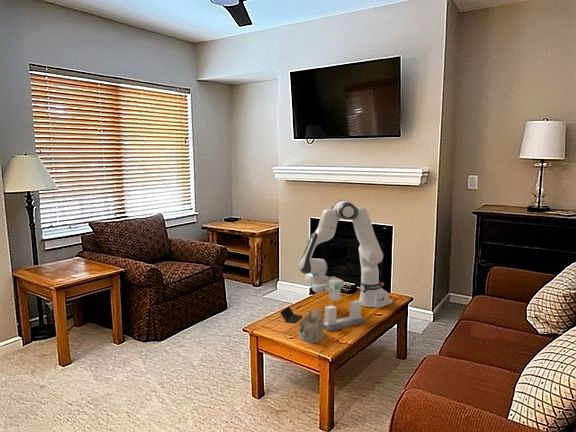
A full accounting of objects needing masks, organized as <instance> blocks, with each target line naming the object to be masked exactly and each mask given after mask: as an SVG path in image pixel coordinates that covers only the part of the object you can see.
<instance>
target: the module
mask: <svg viewBox="0 0 576 432" xmlns="http://www.w3.org/2000/svg"><path fill="white" fill-rule="evenodd" d="M329 288H332V291H331V292H329V291H328V298H329V299H330V300H332V301H333V302H336V301H340V300H341V289H340V281H338V280H336V279H332V280H329Z"/></svg>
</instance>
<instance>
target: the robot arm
mask: <svg viewBox="0 0 576 432" xmlns="http://www.w3.org/2000/svg"><path fill="white" fill-rule="evenodd" d="M341 219H342V220H351V221H352V224H353V229H354V232H355V236H356V238H357V240H358V243H359V246H358V253H359V262H360V273H361V275H360V284H359V285H360V293H359V294H360V295H359V299H358V301H360V302H361V307H362V306H363V307H367V308H368V307H369V308H377V309H379V308H382V307H385V306H388V305H391V304H393V300H392V299H391V298H390V295H389V293H388V291H386V290H385V289H383V288H382V287H383V286H385V283H384V282H380V280H379V277H380V271H379V266H378V264H380V263H381V262H382V261H383V259H384V253H383V251H382V249H381V246H380V243H379V241H378V239H377V236H376V234H375V231H374V228H373V224H372V220H371V218H370V215H369V213H368V210H367V208H366V207H364V206H355V205H354V204H353V203H352V202H350V201H349V200H345V199H340V200H338V201H336V202H335V203H334V205H333V206H332V207H331V208H325V209H324V210H323V211H322V213H321V216H320V218H319V222H318V225H317V227H316V230H315V231H314V232H313V233H312V234H311V235H310V236H309V239H308V242H307V244H306V247H305V249H304V252H303V254H302V256H301V258H300V260H299V262H298V270H299V271H300V272H301V273H302V274H304V275H305V277H304V280H305V281H306V283H307V284H309V289H312V291H313V292H314V293H323V292H328V293H329V292H331V291H332V288H329V280H332V279H336V280H338V281H340V290H342V289H341V288H344V287H345V281H344V280H343V279H341V278H338V277H336V276H334V275H326V274H327V273H328V263H327V261H326V260H325V259H324V258H313V254H314V251H315V249H316V247H317V246H318V245H319V244H321V243H324V242H328V241H330V240H331V239H333V237H334V236H335V234H336V230H337V226H338V222H339V221H340V220H341Z"/></svg>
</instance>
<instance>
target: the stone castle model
mask: <svg viewBox="0 0 576 432" xmlns="http://www.w3.org/2000/svg"><path fill="white" fill-rule="evenodd" d="M323 319H324V317H323V316H322V313H321V308H320V307H319V308H317V309H316V311H312V309H311V308H310V309H308V310H307V314H306V315H305V316H304V317H303V319H301V321H300V322H299V323H298V324H299V329H298V331H297V334H298V335H299V339H300V340H301V341H302V342H306V343H308V344H309V343H310V344H312V343H313V344H314V343H317V342H319V341H322V340H323V339H324V338H325V331H324V329H325V328H324V327H323V324H322V323H323V322H324V321H323Z"/></svg>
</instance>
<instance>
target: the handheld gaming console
mask: <svg viewBox="0 0 576 432" xmlns="http://www.w3.org/2000/svg"><path fill="white" fill-rule="evenodd" d="M279 313H280V314H281V317H283V319H284V321H285V323H289V324H290V323H291V324H296V323H298V321H299V320H301V319H302V317H303V315H300V314H296V313H294V312H293V310H292V309H291V307H290V306H287V307H286V308H284V309H283V310H281V312H279Z"/></svg>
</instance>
